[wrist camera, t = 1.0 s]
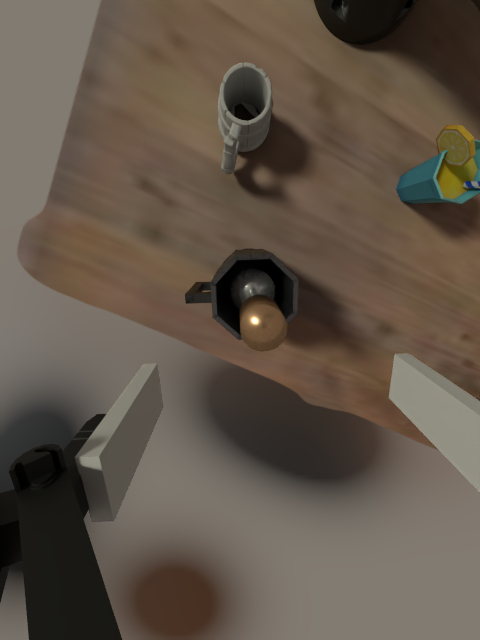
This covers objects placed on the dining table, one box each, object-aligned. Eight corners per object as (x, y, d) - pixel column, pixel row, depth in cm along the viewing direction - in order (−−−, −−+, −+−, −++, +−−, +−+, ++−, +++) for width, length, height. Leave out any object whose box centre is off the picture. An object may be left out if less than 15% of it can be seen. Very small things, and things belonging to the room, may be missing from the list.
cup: (463, 194, 45) (568, 174, 31) (429, 234, 47) (514, 233, 32) (402, 140, 43) (486, 90, 28) (369, 185, 44) (432, 160, 30)
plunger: (274, 267, 39) (302, 290, 22) (274, 311, 41) (300, 362, 24) (229, 269, 39) (224, 293, 22) (231, 312, 41) (228, 365, 24)
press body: (280, 247, 47) (300, 251, 33) (280, 309, 50) (297, 338, 36) (196, 250, 47) (178, 256, 33) (201, 312, 50) (187, 342, 36)
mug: (276, 108, 41) (291, 59, 30) (248, 188, 44) (253, 172, 33) (229, 87, 40) (226, 28, 29) (204, 170, 44) (192, 146, 32)
